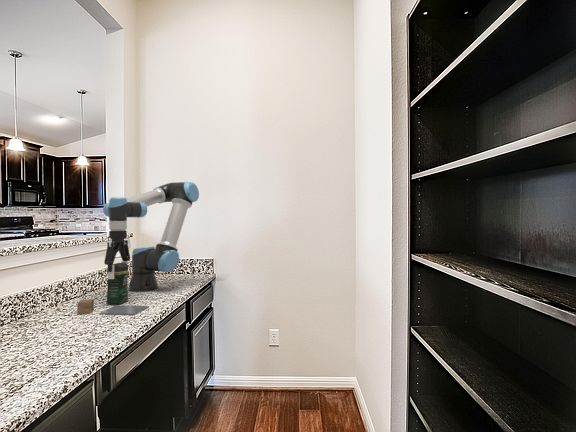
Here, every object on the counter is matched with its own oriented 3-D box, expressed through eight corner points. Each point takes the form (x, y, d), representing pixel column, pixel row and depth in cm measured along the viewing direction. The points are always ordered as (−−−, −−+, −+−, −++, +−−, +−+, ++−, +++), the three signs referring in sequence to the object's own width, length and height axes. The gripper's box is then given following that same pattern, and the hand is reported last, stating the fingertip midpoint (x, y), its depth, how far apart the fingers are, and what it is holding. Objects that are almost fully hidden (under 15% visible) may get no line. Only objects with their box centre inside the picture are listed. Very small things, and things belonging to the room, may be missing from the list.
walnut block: (80, 311, 155) (80, 299, 155) (93, 310, 157) (93, 299, 157) (77, 314, 150) (77, 302, 150) (90, 313, 152) (90, 301, 152)
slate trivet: (116, 306, 163) (116, 305, 163) (148, 307, 162) (148, 306, 162) (99, 314, 150) (99, 313, 150) (134, 315, 149) (134, 313, 149)
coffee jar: (121, 305, 166) (121, 264, 166) (104, 305, 166) (104, 264, 166) (130, 300, 176) (130, 261, 176) (114, 300, 176) (114, 261, 176)
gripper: (123, 229, 183) (123, 272, 183) (95, 231, 160) (95, 281, 160) (137, 229, 183) (137, 273, 183) (111, 231, 159) (111, 281, 159)
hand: (117, 276), depth 171 cm, fingers open, 11 cm apart
